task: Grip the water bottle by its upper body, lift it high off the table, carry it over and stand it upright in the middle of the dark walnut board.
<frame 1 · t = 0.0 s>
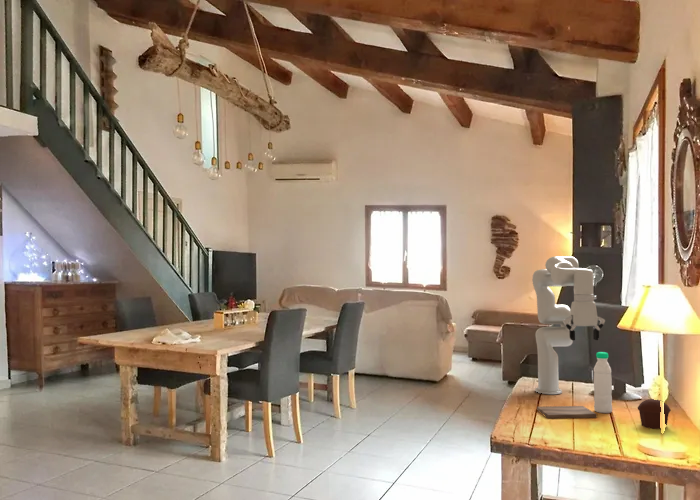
hand: (584, 339, 255), 31 cm above the table, tool pointing down, fingers open, 9 cm apart
muffin: (654, 426, 238), on the table
water bottle: (603, 412, 260), on the table
walnut board: (565, 413, 257), on the table
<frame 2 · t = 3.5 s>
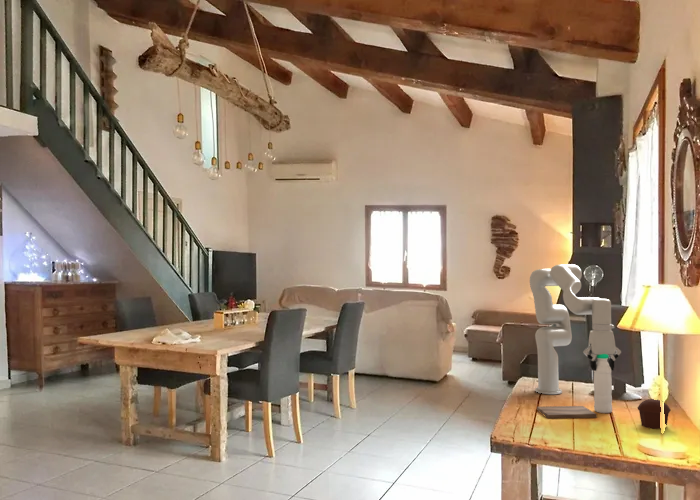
hand: (602, 369, 261), 18 cm above the table, tool pointing down, fingers closed on water bottle, 6 cm apart
water bottle: (603, 412, 260), on the table, touching gripper
everything else where it was.
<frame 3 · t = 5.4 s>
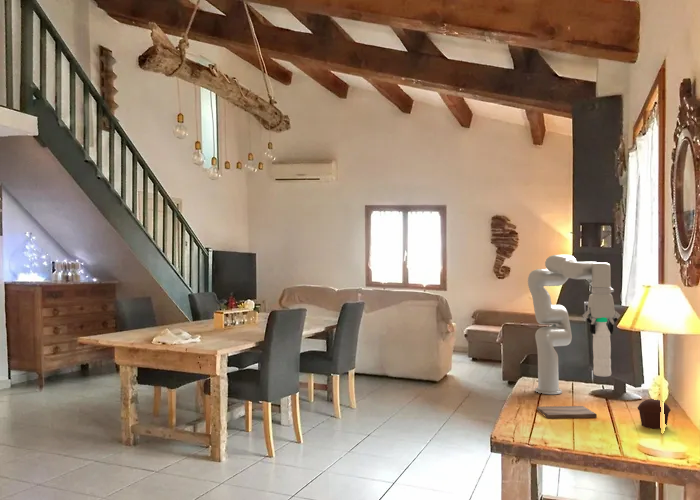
hand: (601, 333, 261), 33 cm above the table, tool pointing down, fingers closed on water bottle, 6 cm apart
water bottle: (602, 375, 261), point 15 cm above the table, touching gripper
everything else where it was.
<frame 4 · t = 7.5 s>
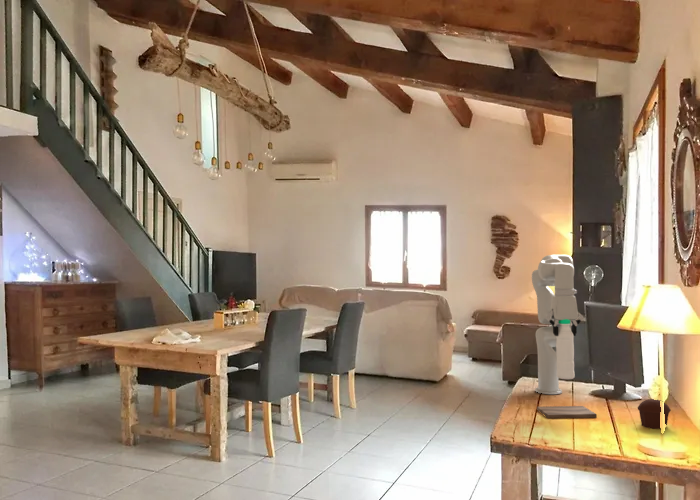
hand: (564, 335, 258), 33 cm above the table, tool pointing down, fingers closed on water bottle, 6 cm apart
water bottle: (565, 378, 257), point 15 cm above the table, touching gripper
everything else where it was.
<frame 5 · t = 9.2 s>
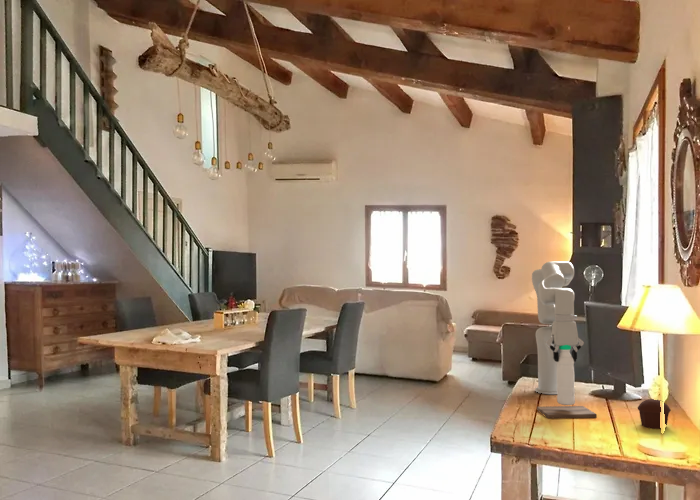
hand: (565, 360, 257), 22 cm above the table, tool pointing down, fingers closed on water bottle, 6 cm apart
water bottle: (566, 404, 257), point 4 cm above the table, touching gripper
everything else where it was.
when the fingers open (20 cm above the table, at t = 10.6 s): water bottle drops 1 cm, resting on walnut board.
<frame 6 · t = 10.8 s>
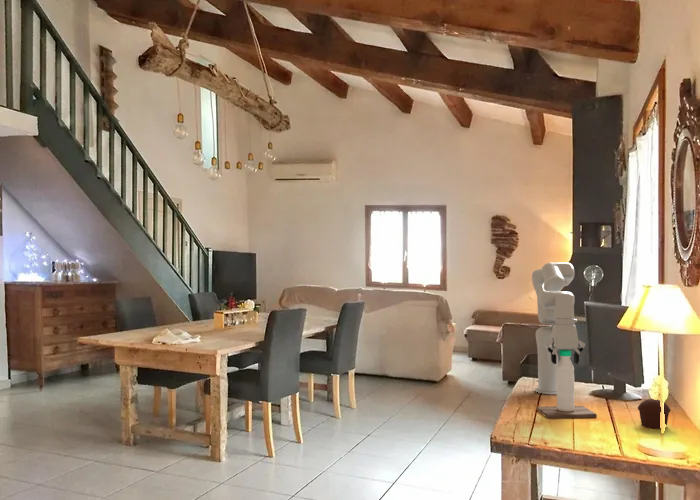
hand: (565, 363, 257), 21 cm above the table, tool pointing down, fingers open, 8 cm apart
water bottle: (565, 410, 257), point 1 cm above the table, touching walnut board
everything else where it was.
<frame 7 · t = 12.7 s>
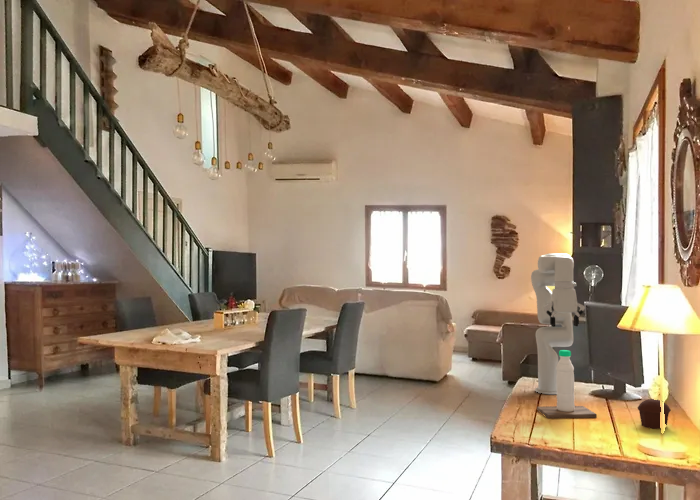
hand: (564, 326, 260), 36 cm above the table, tool pointing down, fingers open, 9 cm apart
nothing on the table moved.
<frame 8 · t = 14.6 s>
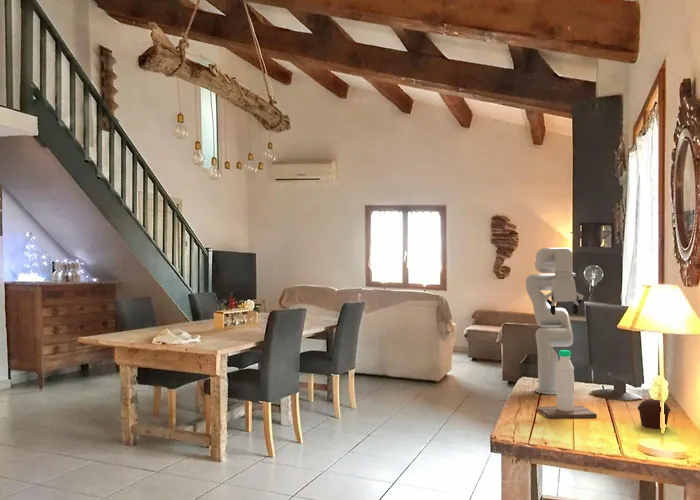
hand: (564, 314, 272), 40 cm above the table, tool pointing down, fingers open, 9 cm apart
nothing on the table moved.
at the end: water bottle inside the target area on the walnut board (0.1 cm from its centre), point 1.3 cm above the walnut board's base; water bottle tilted 0°; the gripper is holding nothing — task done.
